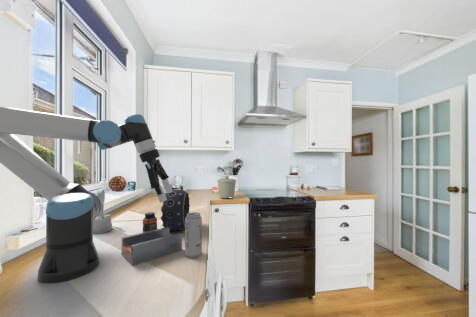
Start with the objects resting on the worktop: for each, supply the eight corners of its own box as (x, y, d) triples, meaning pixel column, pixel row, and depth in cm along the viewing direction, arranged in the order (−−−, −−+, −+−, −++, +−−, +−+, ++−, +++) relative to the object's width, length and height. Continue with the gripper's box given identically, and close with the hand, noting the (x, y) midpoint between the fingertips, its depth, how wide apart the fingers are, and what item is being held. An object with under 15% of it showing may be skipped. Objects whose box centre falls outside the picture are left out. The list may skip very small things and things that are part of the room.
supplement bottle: (159, 236, 97) (160, 211, 97) (151, 241, 91) (151, 215, 91) (148, 235, 99) (148, 211, 99) (139, 240, 93) (139, 214, 93)
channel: (132, 265, 70) (132, 246, 70) (121, 254, 79) (121, 237, 79) (181, 249, 82) (181, 233, 83) (167, 241, 91) (167, 226, 91)
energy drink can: (200, 258, 75) (200, 215, 75) (183, 258, 75) (183, 216, 75) (202, 251, 81) (202, 211, 81) (187, 251, 81) (187, 212, 81)
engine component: (85, 234, 100) (109, 231, 104) (85, 191, 101) (110, 189, 104) (91, 227, 111) (113, 225, 114) (92, 188, 111) (113, 187, 115)
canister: (215, 197, 205) (215, 175, 205) (233, 196, 210) (233, 174, 211) (219, 200, 188) (219, 176, 188) (238, 199, 193) (238, 176, 193)
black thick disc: (190, 223, 118) (190, 187, 118) (183, 236, 98) (183, 192, 98) (170, 224, 117) (170, 187, 117) (159, 236, 97) (159, 192, 97)
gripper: (148, 149, 78) (169, 202, 81) (162, 146, 103) (179, 186, 106) (127, 157, 77) (150, 209, 80) (147, 152, 102) (164, 192, 105)
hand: (166, 196), depth 93 cm, fingers open, 13 cm apart
